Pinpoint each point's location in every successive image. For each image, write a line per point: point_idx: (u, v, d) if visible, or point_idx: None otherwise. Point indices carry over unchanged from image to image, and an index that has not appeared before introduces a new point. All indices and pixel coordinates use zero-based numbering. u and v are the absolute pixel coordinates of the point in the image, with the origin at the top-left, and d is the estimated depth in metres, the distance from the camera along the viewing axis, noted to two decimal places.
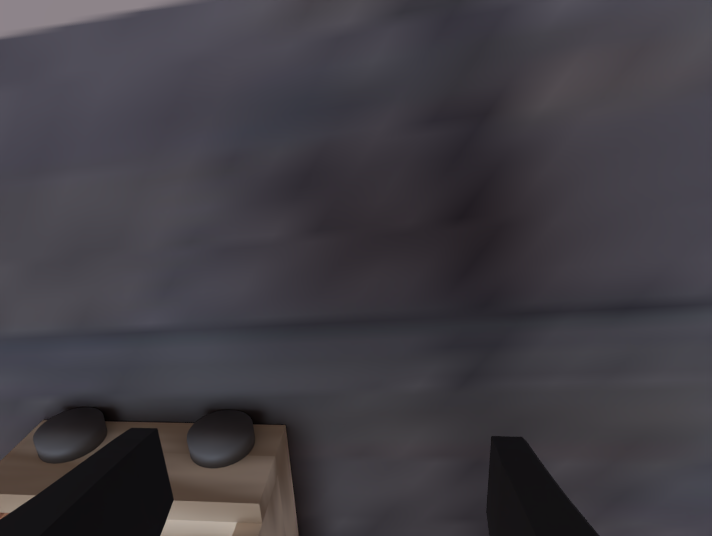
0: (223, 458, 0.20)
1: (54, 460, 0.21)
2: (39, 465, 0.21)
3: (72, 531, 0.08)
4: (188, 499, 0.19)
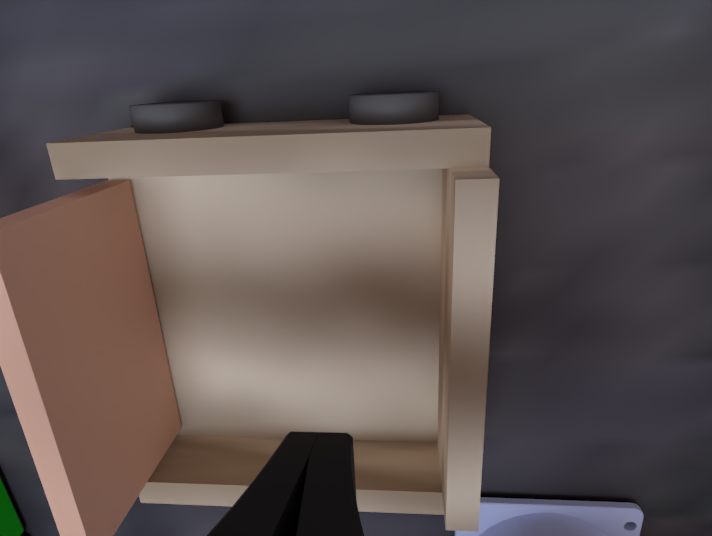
0: (411, 108, 0.14)
1: (163, 126, 0.15)
2: (141, 134, 0.15)
3: None
4: None
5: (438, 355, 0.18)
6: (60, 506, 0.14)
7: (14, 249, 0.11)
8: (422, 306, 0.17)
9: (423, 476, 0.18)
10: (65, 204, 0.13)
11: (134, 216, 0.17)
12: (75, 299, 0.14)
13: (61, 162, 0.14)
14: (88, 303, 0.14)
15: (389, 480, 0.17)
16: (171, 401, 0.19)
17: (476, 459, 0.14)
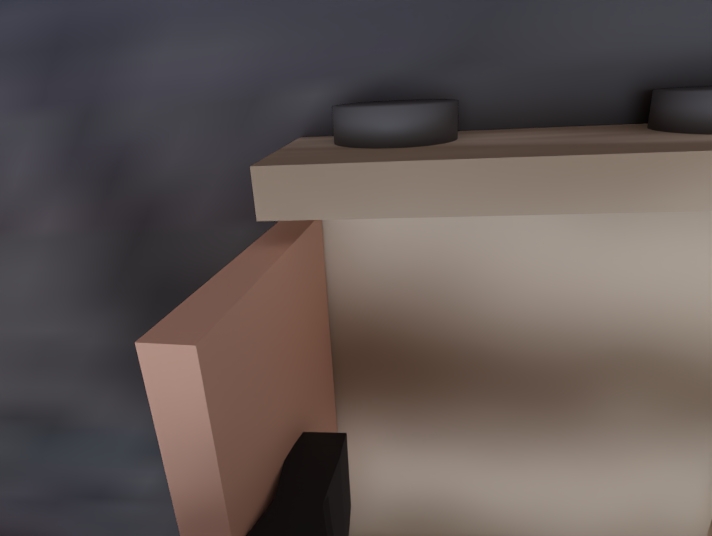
0: None
1: (399, 138, 0.10)
2: (366, 150, 0.10)
3: None
4: None
5: None
6: None
7: (222, 360, 0.07)
8: None
9: None
10: (270, 265, 0.08)
11: (323, 266, 0.12)
12: (276, 412, 0.09)
13: (270, 195, 0.09)
14: (286, 412, 0.09)
15: None
16: None
17: None
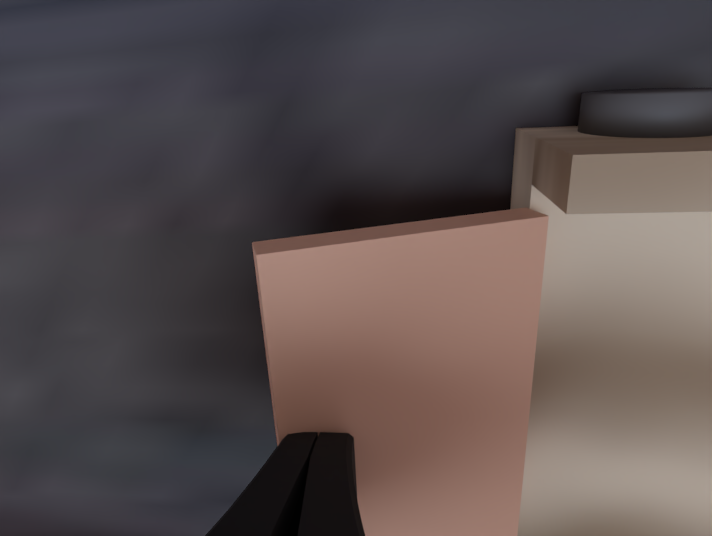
0: None
1: (689, 127, 0.09)
2: (653, 139, 0.09)
3: None
4: None
5: None
6: None
7: (291, 279, 0.09)
8: None
9: None
10: (398, 236, 0.09)
11: (536, 271, 0.11)
12: (372, 357, 0.10)
13: (588, 186, 0.08)
14: (394, 367, 0.10)
15: None
16: (506, 527, 0.13)
17: None
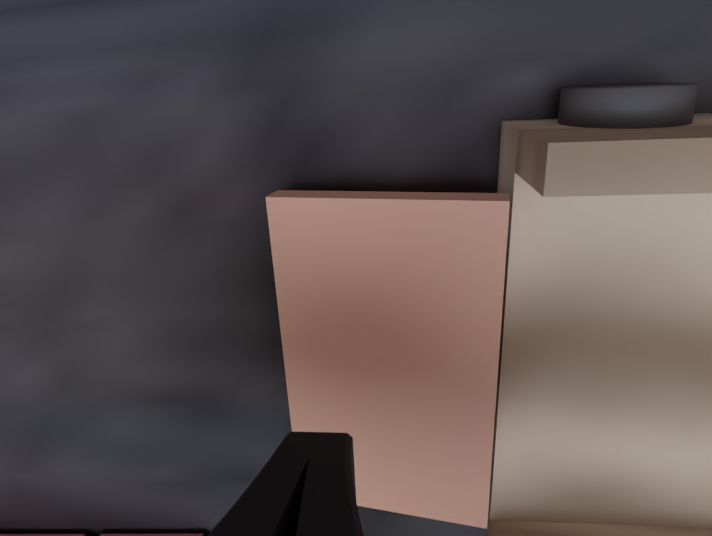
0: None
1: (657, 118, 0.10)
2: (624, 129, 0.10)
3: None
4: None
5: None
6: None
7: (289, 218, 0.13)
8: None
9: None
10: (367, 198, 0.12)
11: (498, 251, 0.12)
12: (348, 292, 0.13)
13: (562, 171, 0.09)
14: (365, 305, 0.13)
15: None
16: (477, 488, 0.14)
17: None
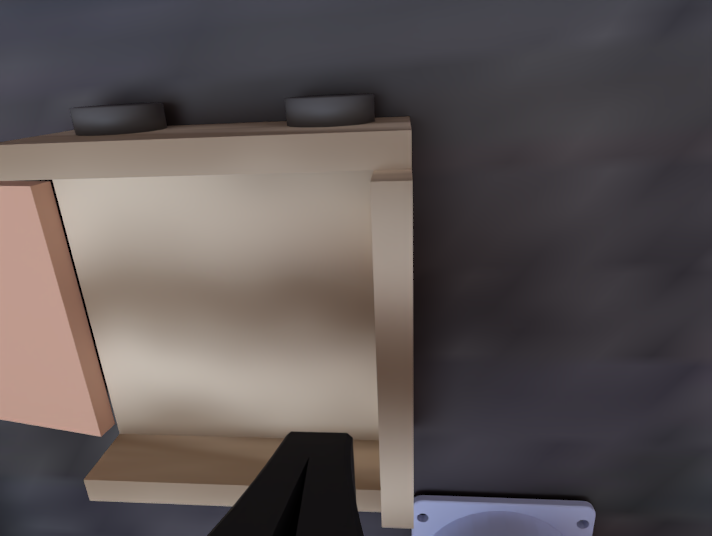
0: (342, 111, 0.14)
1: (100, 129, 0.15)
2: (79, 136, 0.15)
3: None
4: (303, 135, 0.13)
5: None
6: None
7: None
8: (364, 306, 0.17)
9: (367, 474, 0.18)
10: None
11: (36, 222, 0.16)
12: None
13: None
14: None
15: None
16: (84, 404, 0.19)
17: (407, 457, 0.15)
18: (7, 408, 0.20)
